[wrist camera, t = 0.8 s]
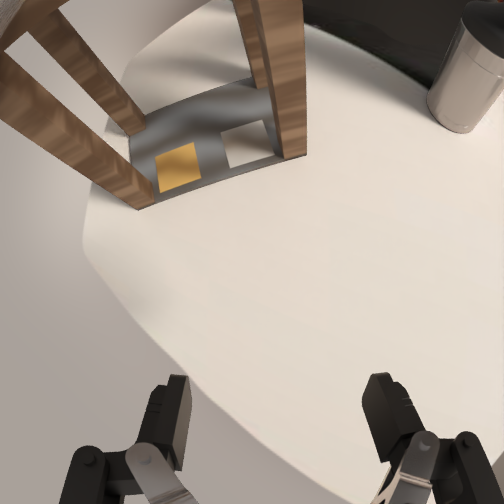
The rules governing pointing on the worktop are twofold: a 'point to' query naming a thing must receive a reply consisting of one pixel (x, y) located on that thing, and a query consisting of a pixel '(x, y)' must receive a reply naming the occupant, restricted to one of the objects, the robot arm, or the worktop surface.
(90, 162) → the switch shelf
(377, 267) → the worktop surface
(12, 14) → the gray rectangular block
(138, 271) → the worktop surface
